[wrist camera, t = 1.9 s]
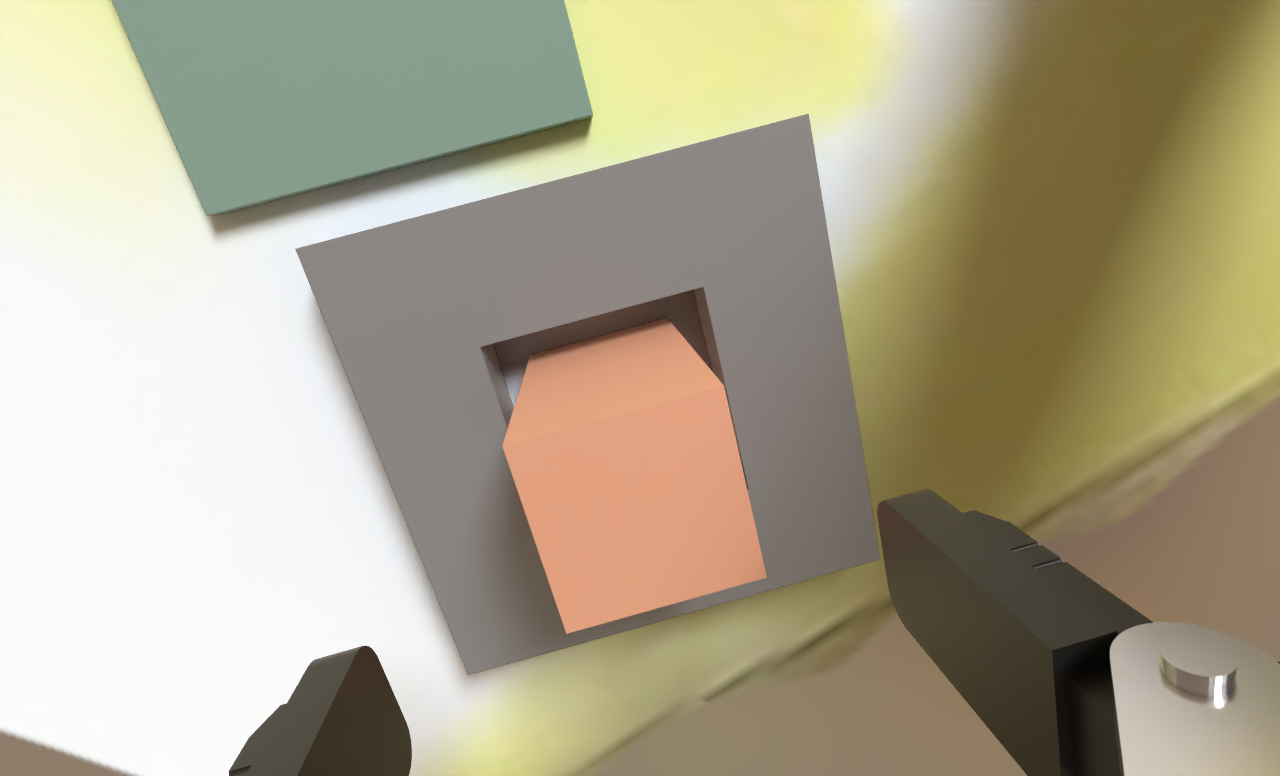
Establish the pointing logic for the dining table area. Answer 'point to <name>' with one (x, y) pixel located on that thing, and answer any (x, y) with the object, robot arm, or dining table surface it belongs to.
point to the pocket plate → (582, 288)
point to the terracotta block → (630, 475)
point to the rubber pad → (347, 85)
